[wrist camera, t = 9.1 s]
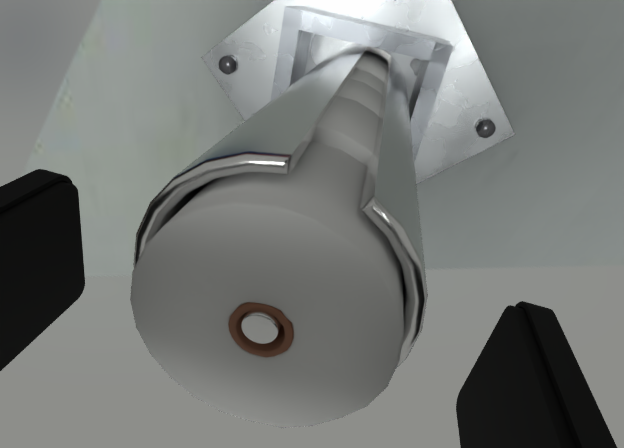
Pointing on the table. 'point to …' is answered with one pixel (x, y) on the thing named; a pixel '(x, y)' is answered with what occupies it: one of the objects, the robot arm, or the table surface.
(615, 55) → the table surface
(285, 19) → the metal base plate
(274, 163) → the air filter
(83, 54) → the table surface
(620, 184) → the table surface
